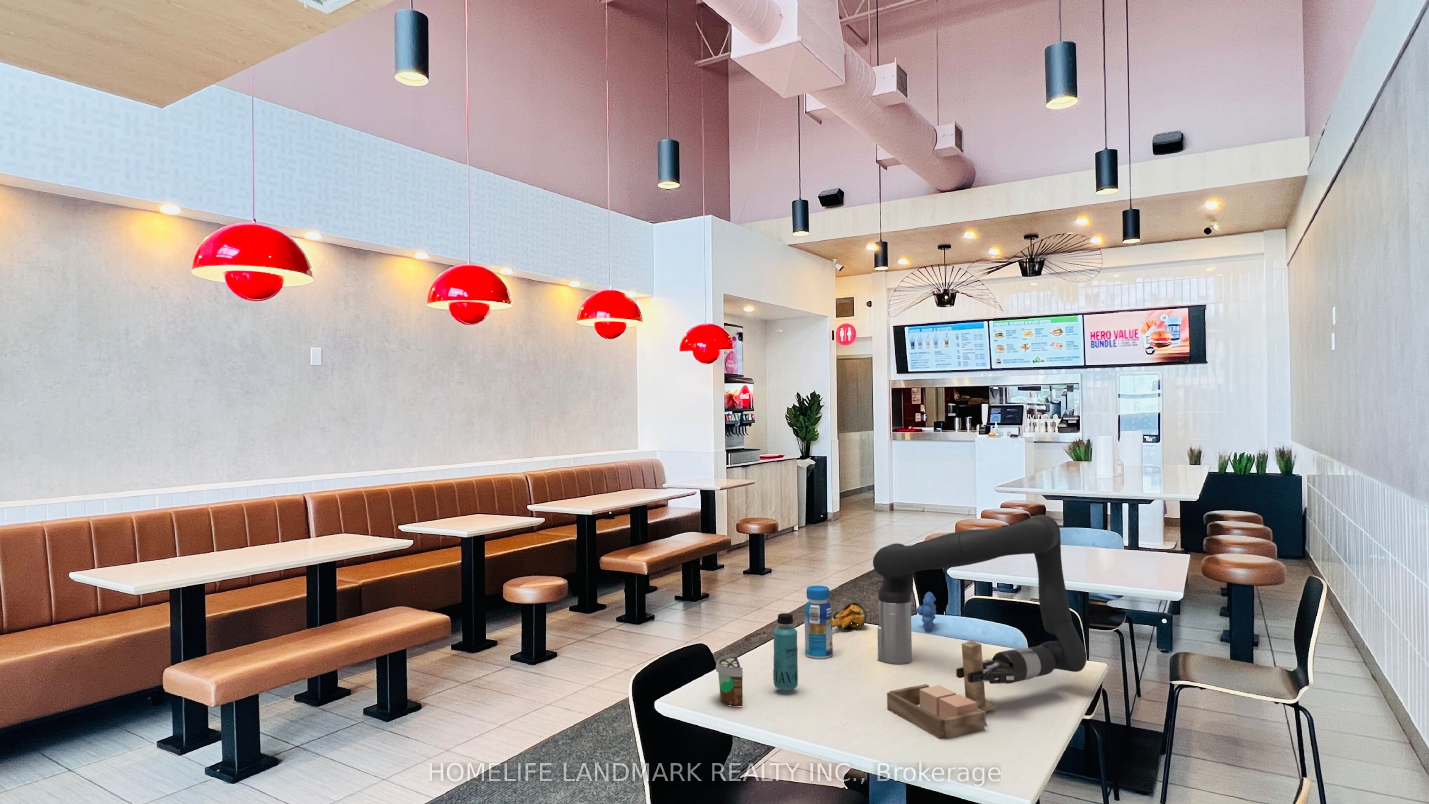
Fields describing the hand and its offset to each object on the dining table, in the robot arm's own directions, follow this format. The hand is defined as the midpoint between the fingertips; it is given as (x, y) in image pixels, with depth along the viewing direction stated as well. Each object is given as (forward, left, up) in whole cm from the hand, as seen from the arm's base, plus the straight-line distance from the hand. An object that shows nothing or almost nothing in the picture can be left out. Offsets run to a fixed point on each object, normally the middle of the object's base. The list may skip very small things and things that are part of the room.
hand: (963, 675), depth 190 cm
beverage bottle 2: (-43, +33, -9) cm, 55 cm away
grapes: (-16, +71, -9) cm, 73 cm away
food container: (-56, -10, -9) cm, 58 cm away
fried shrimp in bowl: (-41, +61, -9) cm, 74 cm away
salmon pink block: (-1, -5, -9) cm, 11 cm away
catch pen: (-6, -5, -9) cm, 12 cm away
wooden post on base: (+3, +3, -9) cm, 10 cm away
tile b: (-6, 0, -9) cm, 11 cm away
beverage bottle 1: (-44, +1, -9) cm, 45 cm away
